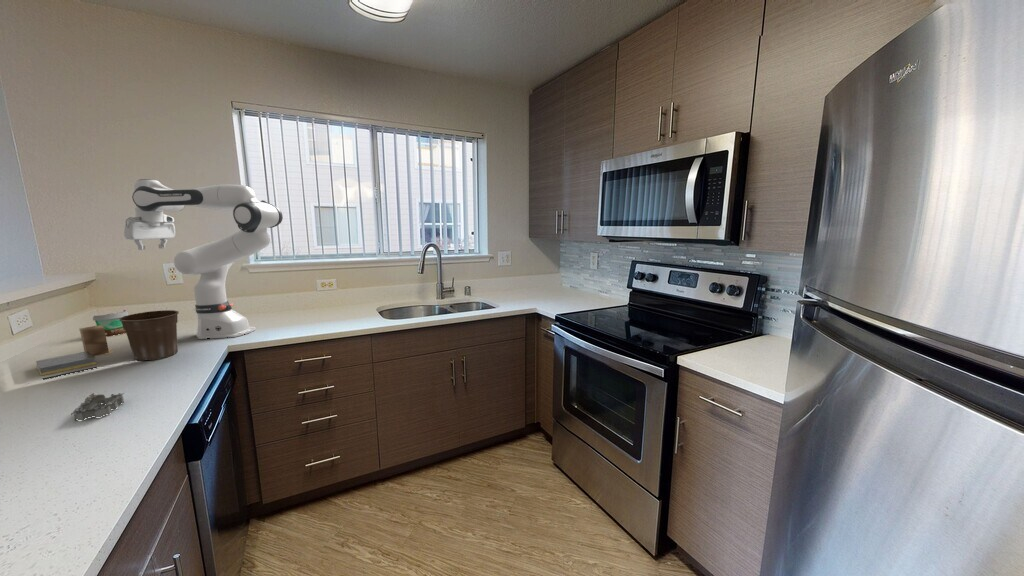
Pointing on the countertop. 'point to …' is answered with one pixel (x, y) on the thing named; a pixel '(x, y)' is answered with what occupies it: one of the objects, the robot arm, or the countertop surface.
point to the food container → (111, 323)
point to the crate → (94, 340)
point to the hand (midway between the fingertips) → (152, 249)
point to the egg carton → (97, 406)
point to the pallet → (106, 353)
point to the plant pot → (152, 334)
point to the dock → (65, 363)
